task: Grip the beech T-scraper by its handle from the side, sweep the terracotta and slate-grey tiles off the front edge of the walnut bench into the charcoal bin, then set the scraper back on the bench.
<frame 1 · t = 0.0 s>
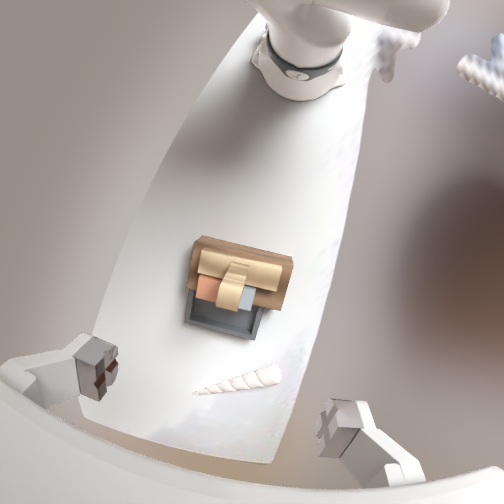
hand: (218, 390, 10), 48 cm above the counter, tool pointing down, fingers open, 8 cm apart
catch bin: (225, 306, 61), on the counter
terracotta tile: (211, 284, 54), point 6 cm above the counter, touching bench
unicorn horn: (237, 380, 67), on the counter
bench: (241, 267, 59), on the counter
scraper: (240, 267, 53), point 6 cm above the counter, touching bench
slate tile: (243, 292, 54), point 6 cm above the counter, touching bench
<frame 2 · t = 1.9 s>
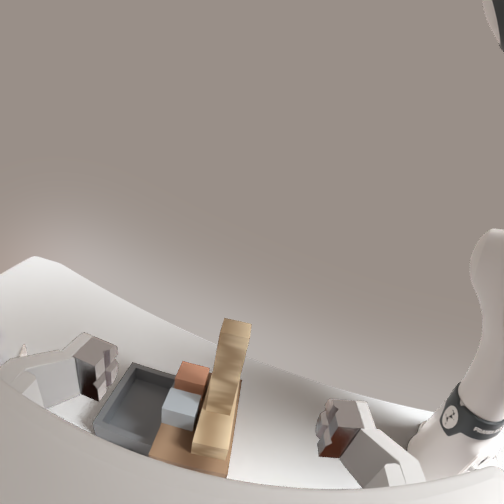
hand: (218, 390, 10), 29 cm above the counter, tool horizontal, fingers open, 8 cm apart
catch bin: (141, 414, 37), on the counter
terracotta tile: (191, 387, 38), point 6 cm above the counter, touching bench
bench: (197, 438, 36), on the counter
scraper: (216, 417, 34), point 6 cm above the counter, touching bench
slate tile: (180, 416, 33), point 6 cm above the counter, touching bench
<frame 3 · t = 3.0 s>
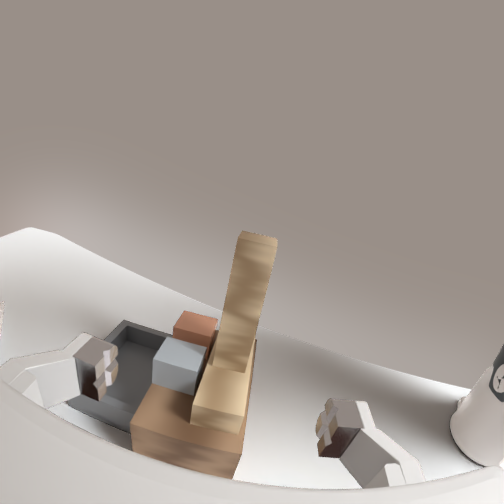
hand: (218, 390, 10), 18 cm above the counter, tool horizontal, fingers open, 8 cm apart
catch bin: (129, 381, 30), on the counter
terracotta tile: (193, 345, 32), point 6 cm above the counter, touching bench
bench: (200, 412, 29), on the counter
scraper: (226, 379, 27), point 6 cm above the counter, touching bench
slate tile: (178, 376, 26), point 6 cm above the counter, touching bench
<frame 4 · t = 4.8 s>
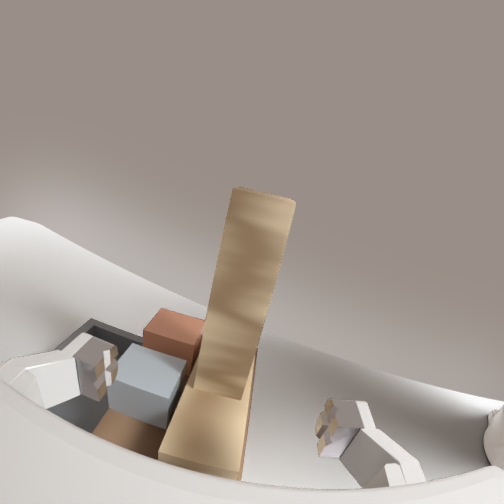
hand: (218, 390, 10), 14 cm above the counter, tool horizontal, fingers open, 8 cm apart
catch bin: (93, 397, 22), on the counter
terracotta tile: (172, 354, 23), point 6 cm above the counter, touching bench
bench: (180, 443, 20), on the counter
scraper: (214, 405, 19), point 6 cm above the counter, touching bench
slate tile: (147, 400, 17), point 6 cm above the counter, touching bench
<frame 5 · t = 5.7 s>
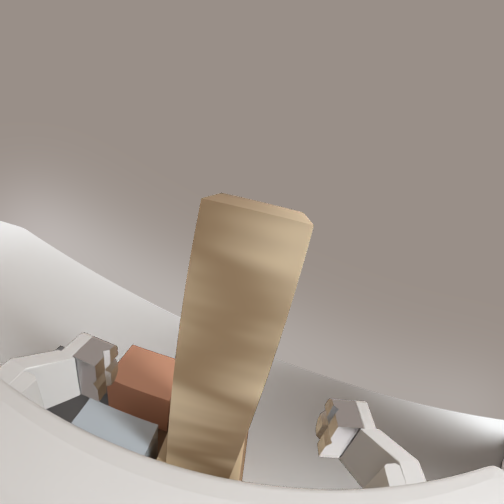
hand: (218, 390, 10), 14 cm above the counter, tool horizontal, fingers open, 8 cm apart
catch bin: (62, 440, 16), on the counter
terracotta tile: (147, 402, 17), point 6 cm above the counter, touching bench
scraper: (197, 472, 13), point 6 cm above the counter, touching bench
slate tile: (113, 465, 11), point 6 cm above the counter, touching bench
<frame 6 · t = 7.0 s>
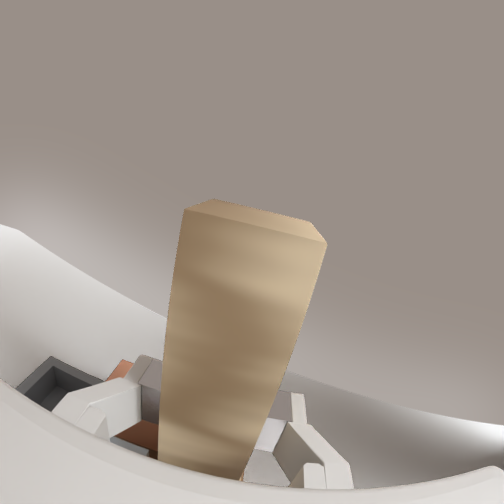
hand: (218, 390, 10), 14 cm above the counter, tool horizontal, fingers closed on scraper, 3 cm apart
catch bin: (54, 454, 14), on the counter
terracotta tile: (139, 419, 15), point 6 cm above the counter, touching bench
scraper: (192, 496, 11), point 6 cm above the counter, touching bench, gripper
when the fingers open (14 cm above the counter, at t = 11.7 s): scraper stays where it is, resting on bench.
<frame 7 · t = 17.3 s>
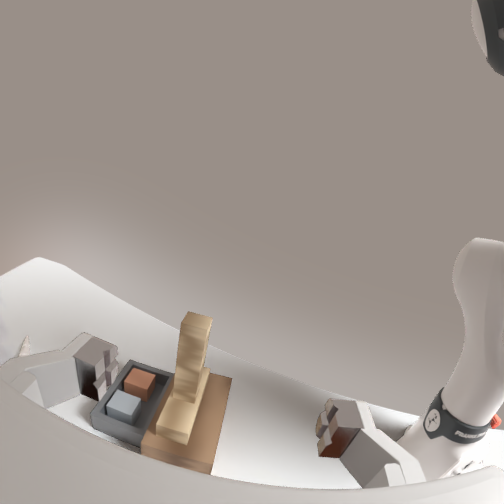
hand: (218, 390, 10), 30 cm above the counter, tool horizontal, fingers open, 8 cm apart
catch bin: (136, 408, 40), on the counter
terracotta tile: (140, 378, 42), point 4 cm above the counter, tilted 180°, touching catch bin
unicorn horn: (22, 380, 35), on the counter
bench: (188, 432, 38), on the counter
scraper: (184, 405, 36), point 6 cm above the counter, touching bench
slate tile: (123, 402, 36), point 4 cm above the counter, tilted 180°, touching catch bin
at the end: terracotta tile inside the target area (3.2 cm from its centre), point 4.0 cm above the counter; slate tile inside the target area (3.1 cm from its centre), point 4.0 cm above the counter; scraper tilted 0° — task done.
